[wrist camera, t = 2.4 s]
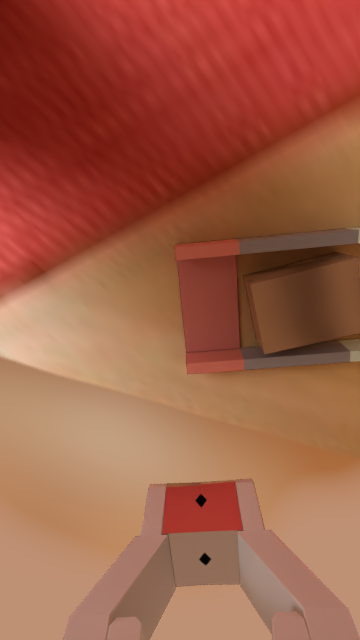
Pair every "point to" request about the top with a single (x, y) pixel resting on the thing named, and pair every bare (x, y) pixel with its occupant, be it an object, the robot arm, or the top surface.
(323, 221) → the top surface
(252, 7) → the top surface
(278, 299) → the walnut block
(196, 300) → the trap box
